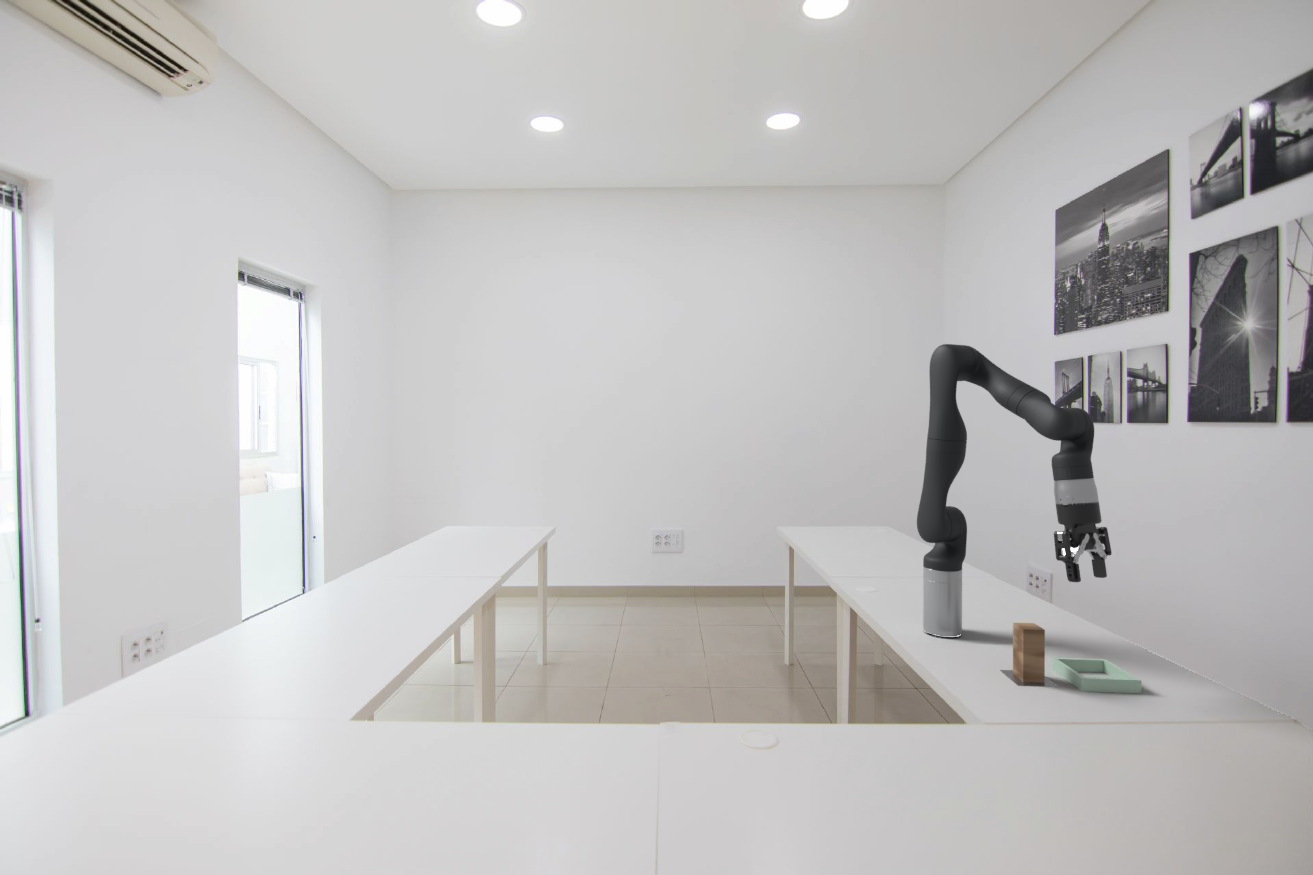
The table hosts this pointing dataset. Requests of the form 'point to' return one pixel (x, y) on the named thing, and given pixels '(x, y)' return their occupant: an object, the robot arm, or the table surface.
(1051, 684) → the mount plate
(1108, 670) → the tray
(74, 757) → the table surface
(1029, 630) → the block
